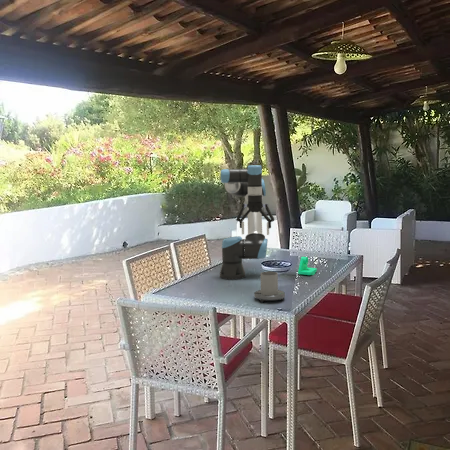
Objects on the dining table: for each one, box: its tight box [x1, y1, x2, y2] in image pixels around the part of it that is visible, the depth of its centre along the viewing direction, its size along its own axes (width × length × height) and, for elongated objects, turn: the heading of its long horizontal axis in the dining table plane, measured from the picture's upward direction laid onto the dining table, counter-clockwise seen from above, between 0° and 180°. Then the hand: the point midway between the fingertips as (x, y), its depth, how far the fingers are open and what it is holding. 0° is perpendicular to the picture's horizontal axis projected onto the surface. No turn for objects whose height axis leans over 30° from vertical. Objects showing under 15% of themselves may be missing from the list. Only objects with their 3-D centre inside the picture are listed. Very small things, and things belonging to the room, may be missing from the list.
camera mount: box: [297, 256, 318, 276], centre depth 293 cm, size 12×8×10 cm, turn 150°
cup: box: [260, 270, 279, 296], centre depth 243 cm, size 8×8×10 cm
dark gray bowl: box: [253, 289, 286, 303], centre depth 243 cm, size 15×15×3 cm
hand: (255, 234), depth 263 cm, fingers open, 13 cm apart
